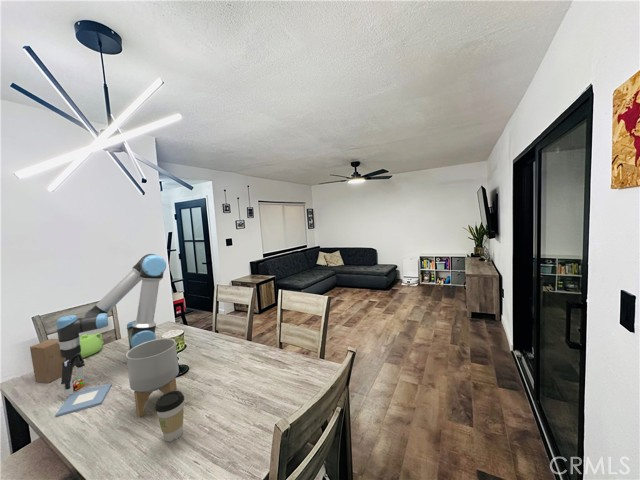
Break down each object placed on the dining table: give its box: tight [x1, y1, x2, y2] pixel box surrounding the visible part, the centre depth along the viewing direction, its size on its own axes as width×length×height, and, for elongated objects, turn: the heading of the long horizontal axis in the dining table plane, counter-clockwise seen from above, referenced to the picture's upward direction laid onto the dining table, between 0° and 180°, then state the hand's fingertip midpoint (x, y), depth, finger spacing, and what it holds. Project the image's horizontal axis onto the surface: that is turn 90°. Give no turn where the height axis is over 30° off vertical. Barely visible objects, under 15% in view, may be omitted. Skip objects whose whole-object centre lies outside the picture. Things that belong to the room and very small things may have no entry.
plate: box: [54, 382, 113, 418], centre depth 125 cm, size 16×16×1 cm
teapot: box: [79, 332, 104, 359], centre depth 169 cm, size 22×15×13 cm
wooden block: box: [29, 338, 66, 384], centre depth 145 cm, size 10×10×20 cm
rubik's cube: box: [71, 378, 85, 392], centre depth 134 cm, size 4×5×5 cm
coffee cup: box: [154, 390, 185, 442], centre depth 100 cm, size 10×10×15 cm
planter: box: [125, 337, 180, 418], centre depth 119 cm, size 19×19×26 cm
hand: (75, 386), depth 134 cm, fingers open, 13 cm apart
